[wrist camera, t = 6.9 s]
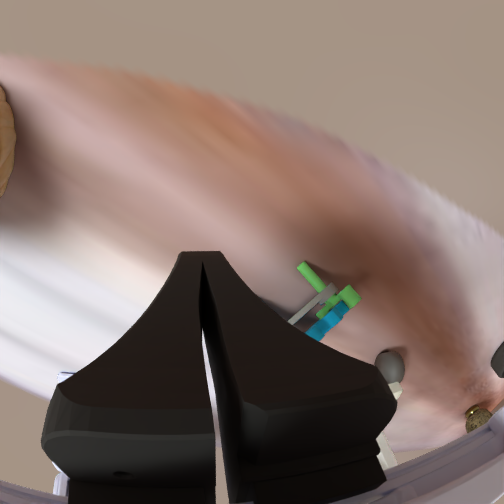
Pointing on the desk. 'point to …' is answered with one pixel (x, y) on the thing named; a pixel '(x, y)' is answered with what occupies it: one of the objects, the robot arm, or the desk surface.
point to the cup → (476, 418)
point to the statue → (6, 141)
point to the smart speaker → (498, 361)
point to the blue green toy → (329, 298)
